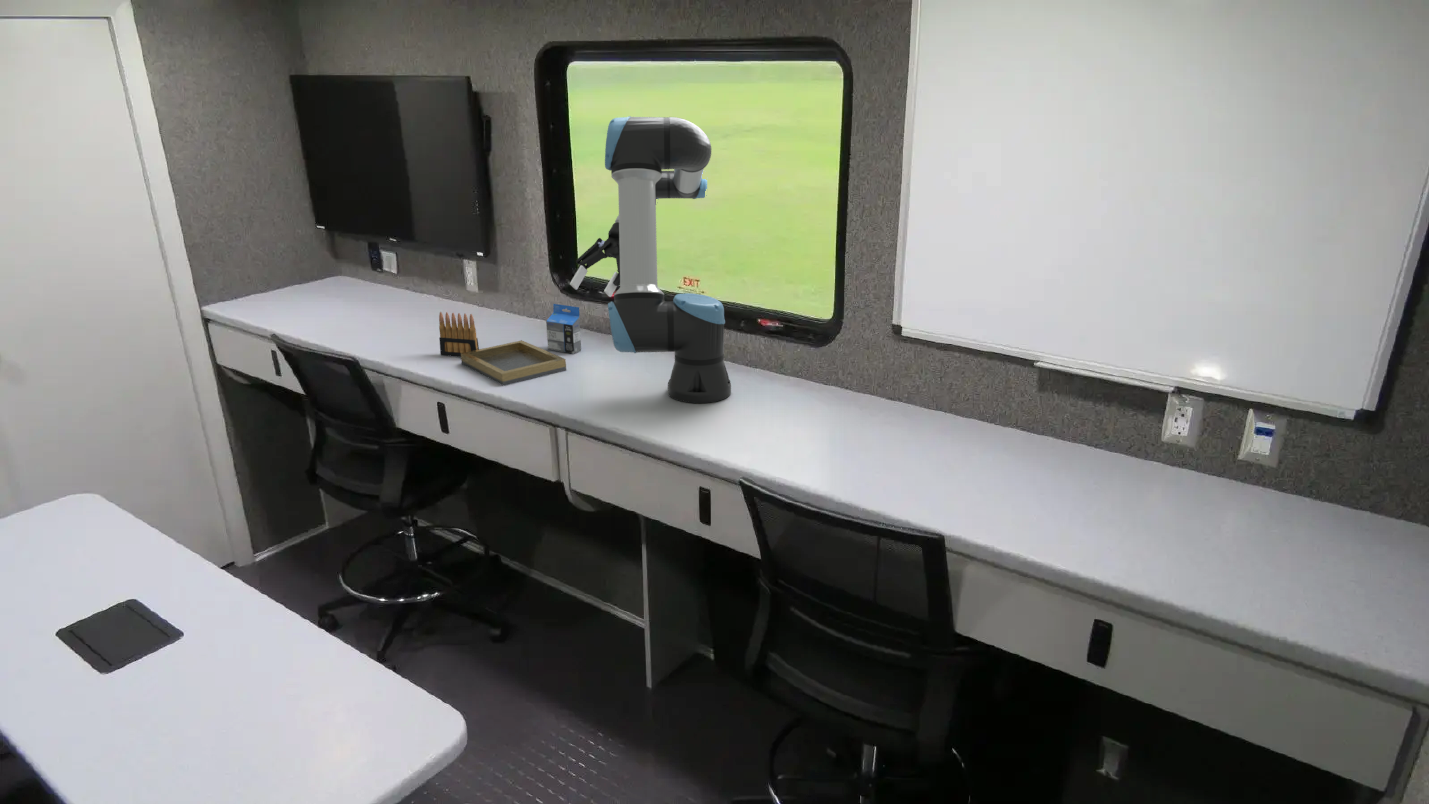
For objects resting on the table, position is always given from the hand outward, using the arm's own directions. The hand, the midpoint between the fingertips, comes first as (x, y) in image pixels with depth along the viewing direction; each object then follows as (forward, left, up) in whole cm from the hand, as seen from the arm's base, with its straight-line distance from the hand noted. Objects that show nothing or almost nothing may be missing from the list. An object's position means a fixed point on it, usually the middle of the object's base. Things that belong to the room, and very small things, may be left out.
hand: (589, 290), depth 237 cm
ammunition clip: (+12, +34, -15) cm, 39 cm away
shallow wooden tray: (-6, +28, -15) cm, 33 cm away
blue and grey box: (-2, +10, -15) cm, 18 cm away
